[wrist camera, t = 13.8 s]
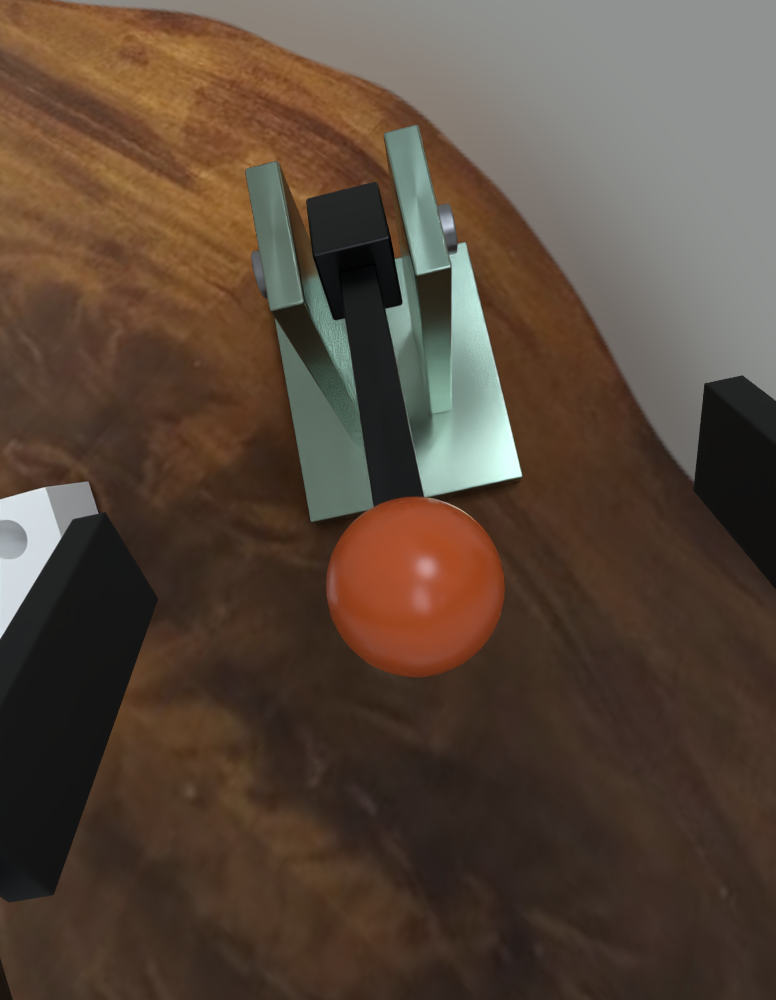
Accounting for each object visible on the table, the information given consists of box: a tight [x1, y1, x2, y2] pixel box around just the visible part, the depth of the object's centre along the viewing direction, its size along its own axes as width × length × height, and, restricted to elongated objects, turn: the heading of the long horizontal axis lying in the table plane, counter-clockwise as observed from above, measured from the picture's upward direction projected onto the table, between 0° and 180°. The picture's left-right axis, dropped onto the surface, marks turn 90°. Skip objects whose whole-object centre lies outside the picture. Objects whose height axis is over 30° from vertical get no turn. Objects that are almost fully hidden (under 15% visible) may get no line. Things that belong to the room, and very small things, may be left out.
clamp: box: [245, 125, 523, 525], centre depth 23 cm, size 12×10×14 cm
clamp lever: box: [306, 182, 505, 677], centre depth 15 cm, size 14×4×4 cm, turn 11°
